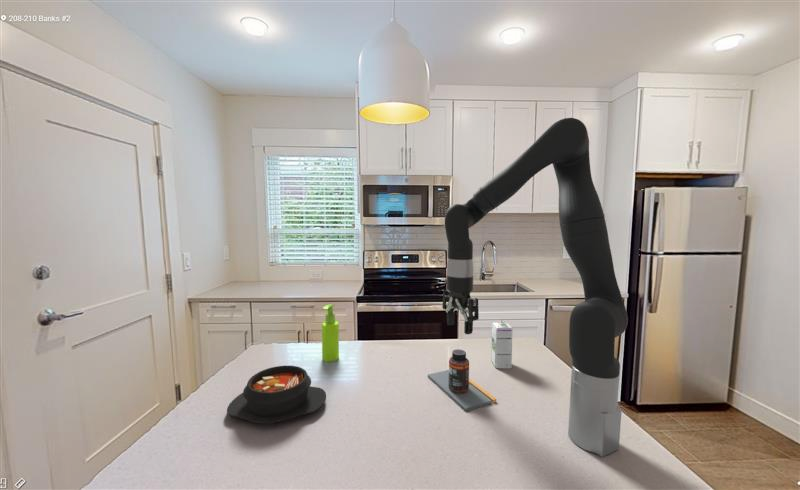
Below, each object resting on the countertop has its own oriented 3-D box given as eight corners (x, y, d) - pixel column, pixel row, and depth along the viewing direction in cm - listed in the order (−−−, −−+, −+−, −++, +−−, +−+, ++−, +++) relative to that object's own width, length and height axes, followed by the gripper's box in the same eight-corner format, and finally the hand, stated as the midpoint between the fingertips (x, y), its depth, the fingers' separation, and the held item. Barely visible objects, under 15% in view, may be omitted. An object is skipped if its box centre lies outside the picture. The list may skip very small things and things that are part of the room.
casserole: (330, 387, 95) (330, 360, 94) (320, 428, 77) (319, 395, 76) (244, 390, 93) (243, 363, 92) (212, 433, 74) (211, 399, 74)
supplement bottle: (467, 384, 96) (468, 348, 95) (469, 394, 90) (471, 356, 89) (447, 382, 97) (448, 347, 96) (448, 393, 91) (449, 355, 90)
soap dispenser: (317, 361, 112) (316, 306, 110) (327, 353, 119) (327, 301, 117) (332, 364, 110) (331, 308, 109) (341, 355, 117) (341, 303, 115)
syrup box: (512, 368, 108) (513, 327, 107) (494, 368, 108) (496, 327, 107) (506, 361, 114) (508, 322, 112) (490, 361, 114) (491, 321, 113)
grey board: (496, 401, 88) (496, 398, 88) (465, 411, 84) (465, 408, 84) (454, 370, 106) (455, 368, 106) (427, 376, 102) (427, 374, 102)
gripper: (486, 277, 86) (485, 335, 87) (456, 270, 99) (455, 320, 100) (464, 279, 83) (463, 339, 84) (435, 271, 95) (435, 323, 97)
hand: (459, 329), depth 92 cm, fingers open, 8 cm apart
